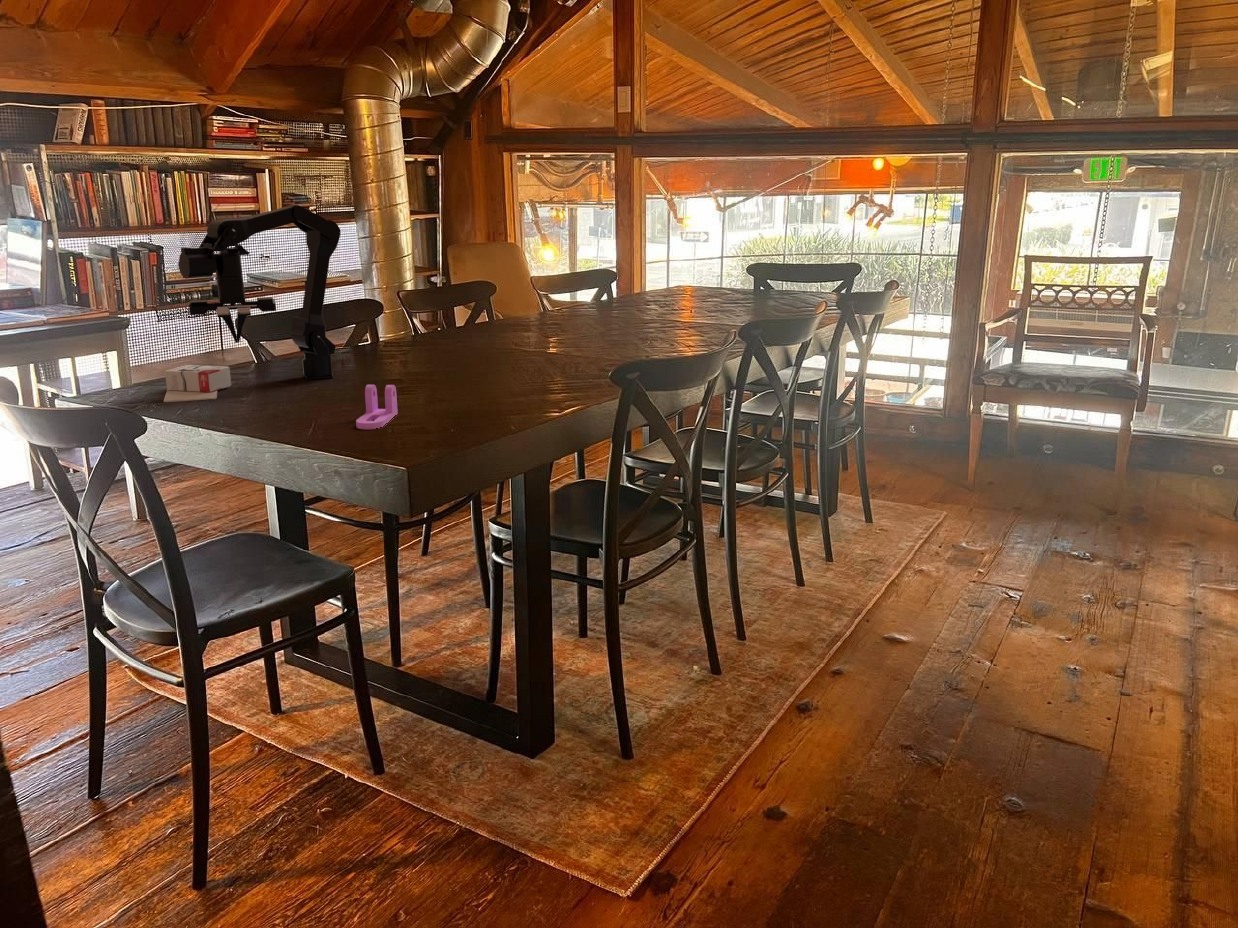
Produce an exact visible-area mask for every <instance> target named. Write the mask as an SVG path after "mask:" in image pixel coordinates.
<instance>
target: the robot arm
mask: <svg viewBox="0 0 1238 928" xmlns="http://www.w3.org/2000/svg"><path fill="white" fill-rule="evenodd" d="M290 224H293V225H294V226H295V227H297V229H299V230H300V231H301V232H303V233H305V235H306V236H305V242H306V245H307V246H306V247H307V249H308V252H309V259H308V265H307V273H306V281H305V285H304V286H305V287H304V295H303V302H302V309H301V312H300V314H299V315H298V316H292V317H291V328H290V329H289V333H290V334H291V340H292V341H293V343H294V344H295V345H296V346H297V347H298V349H299V351H300V353H303V356H304V358H302V369H303V370H302V371H303V372H302V373H303V376H304V377H305V378H306V380H319V379H333V378H334V373H333V368H332V366H333V365H332V355H334V354H335V350H336V347H337V346H336V345H335V344H334V343H333V341H331V340H330V339H328V338H327V336H326V335H327V334H326V333H327V332H326V331H327V329H326V324H325V321H324V317H323V310H324V302H325V295H326V287H327V281H328V273H329V266H330V260H331V256H332V255H333V253H334V252H335V251H336V250H337V248H338V244H339V241H340V238H341V227H339V225H338V223H336V221H334V220H332V219H326V218H325V217H323V216H320V215H319V214H316V213H315V212H312V211H310V210H309V209H307V208H306V207H304V206H303V205H301V204H287V205H286V206H283V207H280V208H276V209H272V210H267V211H265V212H262V213H258V214H255V215H253V214H252V215H251V216H247V217H243V218H241V217H239V218H228V219H227V218H223V219H213V220H212V221H210V222H209V223H208V225H207V228H206V235H205V236H204V238H203V239H202V240H201V241H202V242H201V243H200V244H199V247H181V248H180V254H179V257H178V258H179V259H178V262H177V264H178V265H177V266H178V269H179V273H180V275H181V277H182V278H183V279H185V280H186V279H187V280H189V279H198V278H199V279H201V278H211V277H213V275H214V274H215V275H216V276H215V277H216V284H211V285H210V287H211V288H210V289H211V296H212V299H213V300H218V301H219V302H208V299H193V300H192V299H191V300H190V302H189V303H188V310H189V315H190V316H195V315H196V316H198V315H206V313H208V312H211V311H216V316H217V318H222V319H223V321H224V323H225V325H227V328H228V329H229V331H230V334H231V336H232V338H233V340H234V342H235V343H236V344H237V343H238V344H239V343H240V341H241V336H242V333H243V327H244V324H245V322H246V319H247V317H251V316H252V314H251V310H252V309H253V310H254V309H259V310H260V311H261V312H263V313H264V312H276V311H277V304H276V300H275V298H274V297H272V296H265V297H264V296H262V297H256V300H246V292H245V283H244V278H243V269H242V268H243V267H242V257H241V256H249V255H250V251H249V250H247V249H246V248H244V246H243V245H242V244H241V243H242V242H244V241H247V240H249V239H250V238H251V237H253V235H257V234H258V233H263V232H266V231H269V230H274V229H277V228H279V227H282V226H283V227H284V226H287V225H290ZM230 247H231V248H230ZM214 252H215V253H214ZM216 252H217V253H216ZM232 310H233V311H234V310H236V328H235V325H234V321H233V317H232V314H231V311H232Z"/></svg>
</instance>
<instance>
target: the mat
mask: <svg viewBox="0 0 1238 928" xmlns="http://www.w3.org/2000/svg"><path fill="white" fill-rule="evenodd" d="M217 398H218V390H216V391H213V392H196V391H179V390H167V389H166V393H165V396H164V399H163V403H175V402H189V401H190V402H191V401H204V400H205V401H206V400H216V399H217Z"/></svg>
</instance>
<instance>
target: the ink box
mask: <svg viewBox="0 0 1238 928" xmlns="http://www.w3.org/2000/svg"><path fill="white" fill-rule="evenodd" d="M164 374H165V375H164V376H165V385H166V391H167V390H179V391H196V392H213V391H216V390H217V391H219V390H223V389H226V388H229V387H231V386H232V379H231V377H232V376H231V370H230V366H223V365H222V366H220V365H219V366H218V365H198V364H195V365H194V364H185V365H182V366H178V367H174V368H171V369H170V368H169V369H167V370H164Z"/></svg>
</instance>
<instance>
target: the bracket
mask: <svg viewBox="0 0 1238 928" xmlns="http://www.w3.org/2000/svg"><path fill="white" fill-rule="evenodd" d="M397 397H398V396H397V388H396V386H395V384H386V385H385V388H384V403H385V405H384V406H385V408H379V403H378V390H377V386H376V385H375V384H366V386H365V389H364V399H365V413H363V415H361V416H360V417H358V418H357V419H356V420H355V424H356V429H359V430H377V429H376V428H378V429H381V428H380V427H382V428H384V427H385V426H386V425H387V424H386V423H388V422H389V421H390V420H391V419H392V418H393V417H394V416H395V415H397V414H398V412H399V411H398V400H397ZM397 416H398V415H397ZM393 419H394V418H393ZM393 419H392V420H393ZM373 420H374V421H373ZM392 420H391V421H392ZM391 421H390V422H391ZM390 422H389V423H390ZM389 423H388V424H389ZM385 424H386V425H385ZM384 425H385V426H384ZM383 426H384V427H383Z"/></svg>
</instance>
